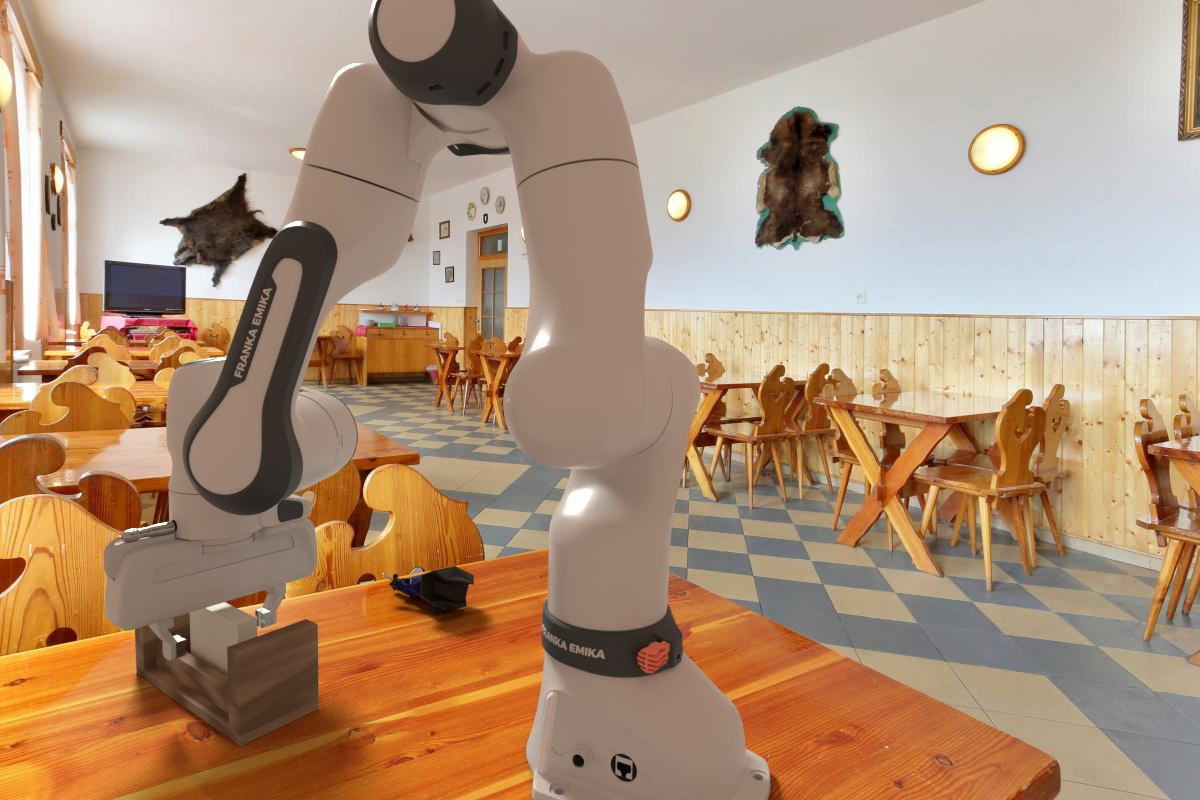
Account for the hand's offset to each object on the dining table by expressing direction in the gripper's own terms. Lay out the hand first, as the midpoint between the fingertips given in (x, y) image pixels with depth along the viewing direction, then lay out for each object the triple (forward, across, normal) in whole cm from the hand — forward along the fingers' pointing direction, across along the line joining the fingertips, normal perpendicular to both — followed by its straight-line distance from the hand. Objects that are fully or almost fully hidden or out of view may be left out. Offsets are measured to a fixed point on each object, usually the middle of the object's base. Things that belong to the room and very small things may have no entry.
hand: (222, 639), depth 73 cm
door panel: (+5, 0, 0) cm, 5 cm away
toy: (+6, +29, +1) cm, 30 cm away
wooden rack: (+6, 0, 0) cm, 6 cm away
